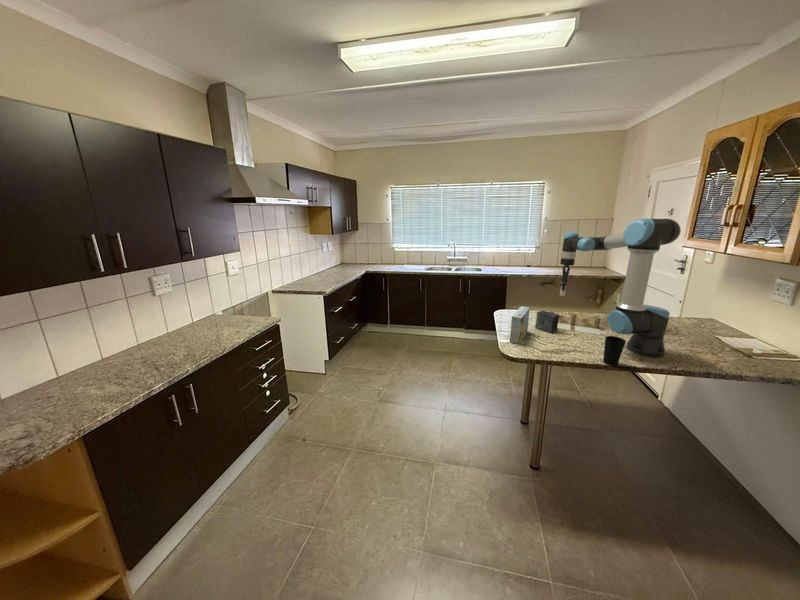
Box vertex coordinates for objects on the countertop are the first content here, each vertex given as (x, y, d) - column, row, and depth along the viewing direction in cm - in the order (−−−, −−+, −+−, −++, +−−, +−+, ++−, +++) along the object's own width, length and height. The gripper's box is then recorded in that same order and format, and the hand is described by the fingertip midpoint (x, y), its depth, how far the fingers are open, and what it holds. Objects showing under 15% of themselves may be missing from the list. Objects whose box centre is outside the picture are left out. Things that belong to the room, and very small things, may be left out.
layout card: (598, 326, 188) (598, 325, 188) (600, 335, 175) (600, 334, 175) (548, 319, 201) (548, 318, 201) (546, 326, 187) (546, 326, 187)
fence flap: (568, 323, 192) (570, 313, 191) (568, 324, 190) (570, 314, 188) (548, 320, 198) (549, 310, 196) (547, 321, 195) (549, 312, 193)
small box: (557, 331, 180) (560, 314, 178) (551, 333, 177) (553, 316, 174) (540, 326, 189) (543, 309, 186) (534, 328, 185) (536, 311, 182)
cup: (602, 365, 141) (607, 341, 138) (598, 358, 148) (603, 335, 144) (622, 368, 138) (628, 343, 135) (617, 360, 145) (622, 337, 142)
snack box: (517, 329, 183) (520, 305, 178) (527, 331, 180) (530, 307, 175) (508, 342, 166) (511, 315, 161) (519, 344, 163) (522, 317, 158)
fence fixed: (598, 328, 185) (600, 317, 183) (598, 329, 183) (600, 318, 181) (569, 323, 192) (571, 313, 190) (569, 325, 190) (571, 314, 188)
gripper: (561, 255, 200) (556, 289, 206) (560, 260, 181) (555, 297, 187) (574, 256, 196) (569, 290, 203) (575, 261, 178) (569, 298, 184)
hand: (562, 293), depth 195 cm, fingers open, 9 cm apart
